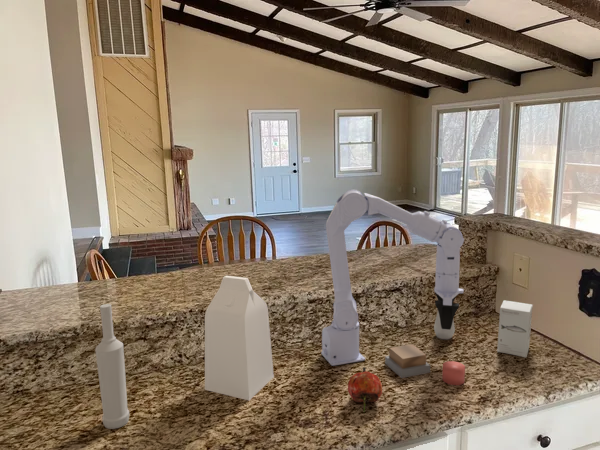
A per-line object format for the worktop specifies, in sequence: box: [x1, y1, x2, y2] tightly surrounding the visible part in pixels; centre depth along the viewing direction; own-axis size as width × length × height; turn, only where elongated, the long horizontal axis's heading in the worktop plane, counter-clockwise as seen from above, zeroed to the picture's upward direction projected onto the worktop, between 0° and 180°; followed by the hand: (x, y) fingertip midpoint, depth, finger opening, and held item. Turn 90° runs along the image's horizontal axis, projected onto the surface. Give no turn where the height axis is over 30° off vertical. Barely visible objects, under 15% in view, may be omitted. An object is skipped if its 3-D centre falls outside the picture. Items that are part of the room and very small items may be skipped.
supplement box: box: [496, 299, 534, 358], centre depth 122 cm, size 7×7×13 cm
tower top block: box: [388, 344, 427, 368], centre depth 114 cm, size 6×6×2 cm
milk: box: [204, 275, 275, 401], centre depth 107 cm, size 12×12×26 cm
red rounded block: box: [441, 360, 466, 386], centre depth 108 cm, size 5×5×4 cm
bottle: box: [95, 303, 130, 430], centre depth 92 cm, size 5×5×25 cm
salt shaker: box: [433, 311, 456, 340], centre depth 132 cm, size 6×6×13 cm
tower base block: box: [384, 355, 431, 379], centre depth 114 cm, size 8×8×2 cm
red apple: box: [347, 366, 384, 413], centre depth 99 cm, size 7×7×10 cm
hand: (445, 323), depth 118 cm, fingers open, 7 cm apart
